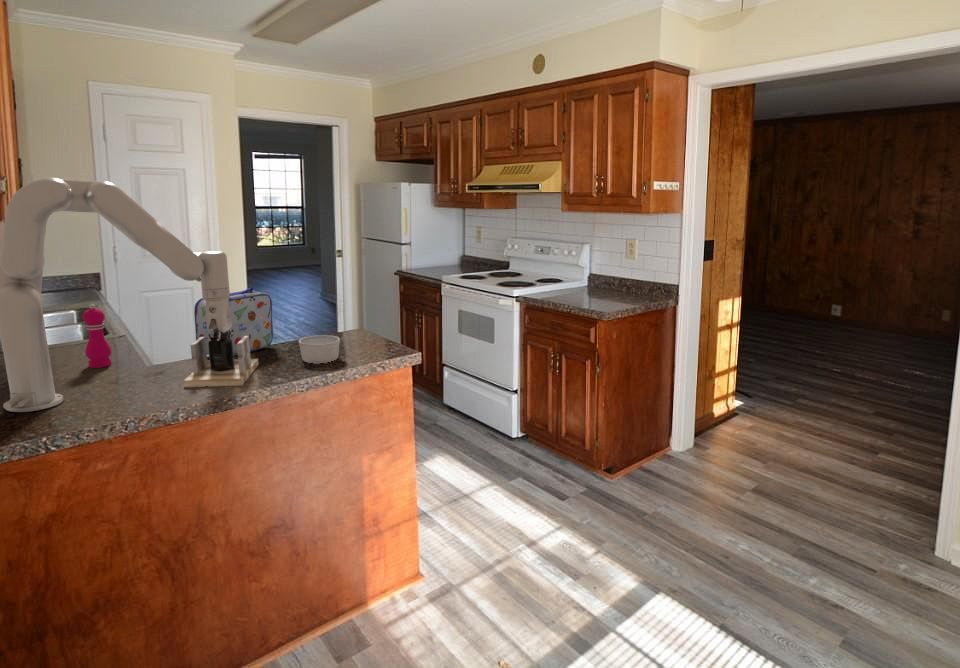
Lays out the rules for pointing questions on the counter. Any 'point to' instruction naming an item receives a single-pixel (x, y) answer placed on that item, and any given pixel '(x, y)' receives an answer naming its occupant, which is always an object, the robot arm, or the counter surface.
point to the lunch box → (242, 319)
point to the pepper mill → (96, 338)
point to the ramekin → (319, 348)
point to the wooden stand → (220, 378)
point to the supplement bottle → (223, 355)
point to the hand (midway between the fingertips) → (220, 349)
